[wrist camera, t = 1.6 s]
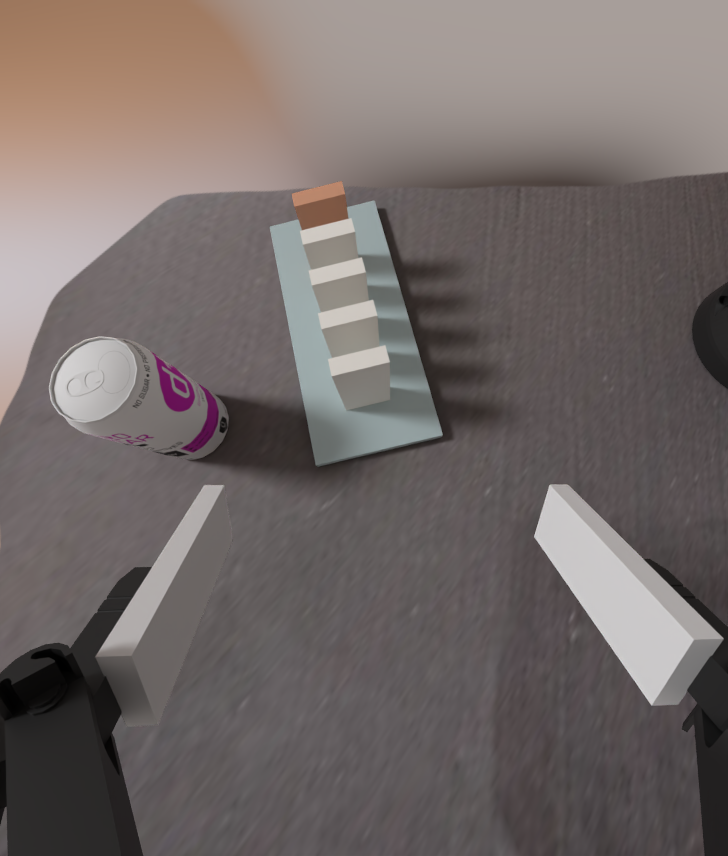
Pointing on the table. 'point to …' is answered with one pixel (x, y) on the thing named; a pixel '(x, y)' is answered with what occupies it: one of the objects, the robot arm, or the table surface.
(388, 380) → the domino
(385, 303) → the domino board
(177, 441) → the supplement can
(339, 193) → the domino
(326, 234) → the domino
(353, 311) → the domino
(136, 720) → the robot arm
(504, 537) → the table surface
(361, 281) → the domino
